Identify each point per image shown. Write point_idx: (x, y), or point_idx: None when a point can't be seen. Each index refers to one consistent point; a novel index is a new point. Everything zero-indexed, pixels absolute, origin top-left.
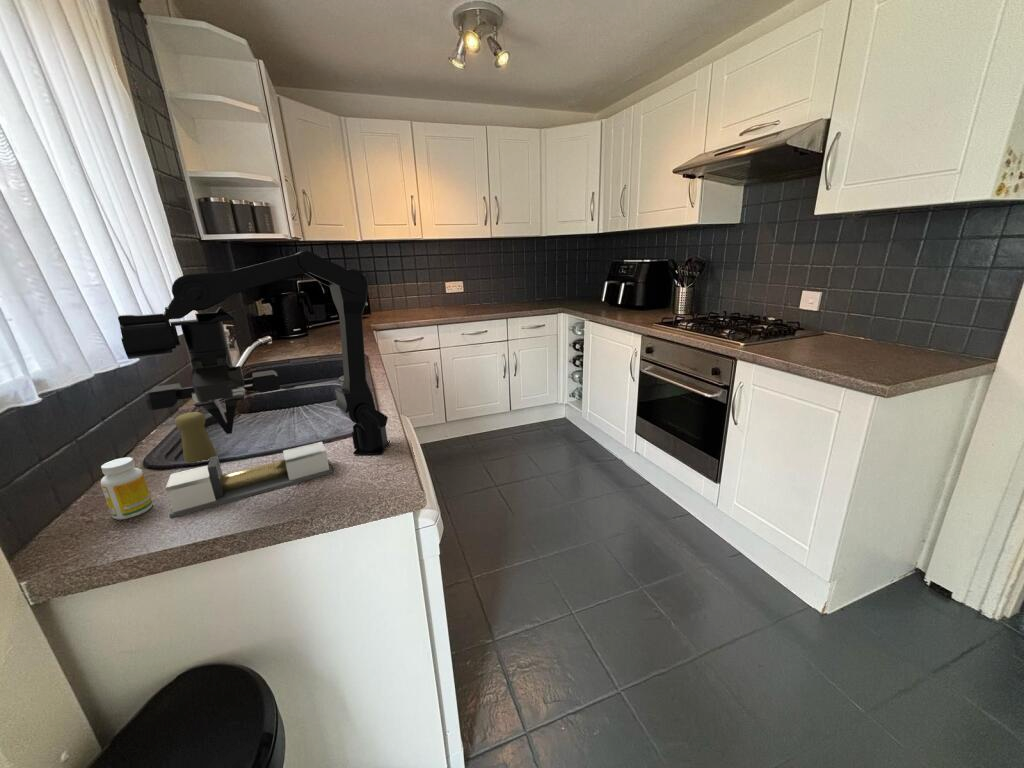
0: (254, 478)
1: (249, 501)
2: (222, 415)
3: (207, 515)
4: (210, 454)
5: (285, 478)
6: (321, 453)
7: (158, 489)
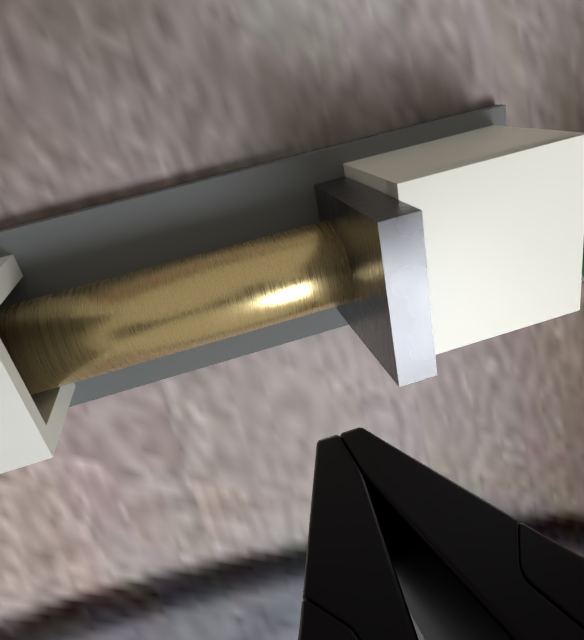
0: (184, 259)
1: (183, 117)
2: (463, 613)
3: (351, 51)
4: None
5: (46, 286)
6: None
7: (565, 380)
